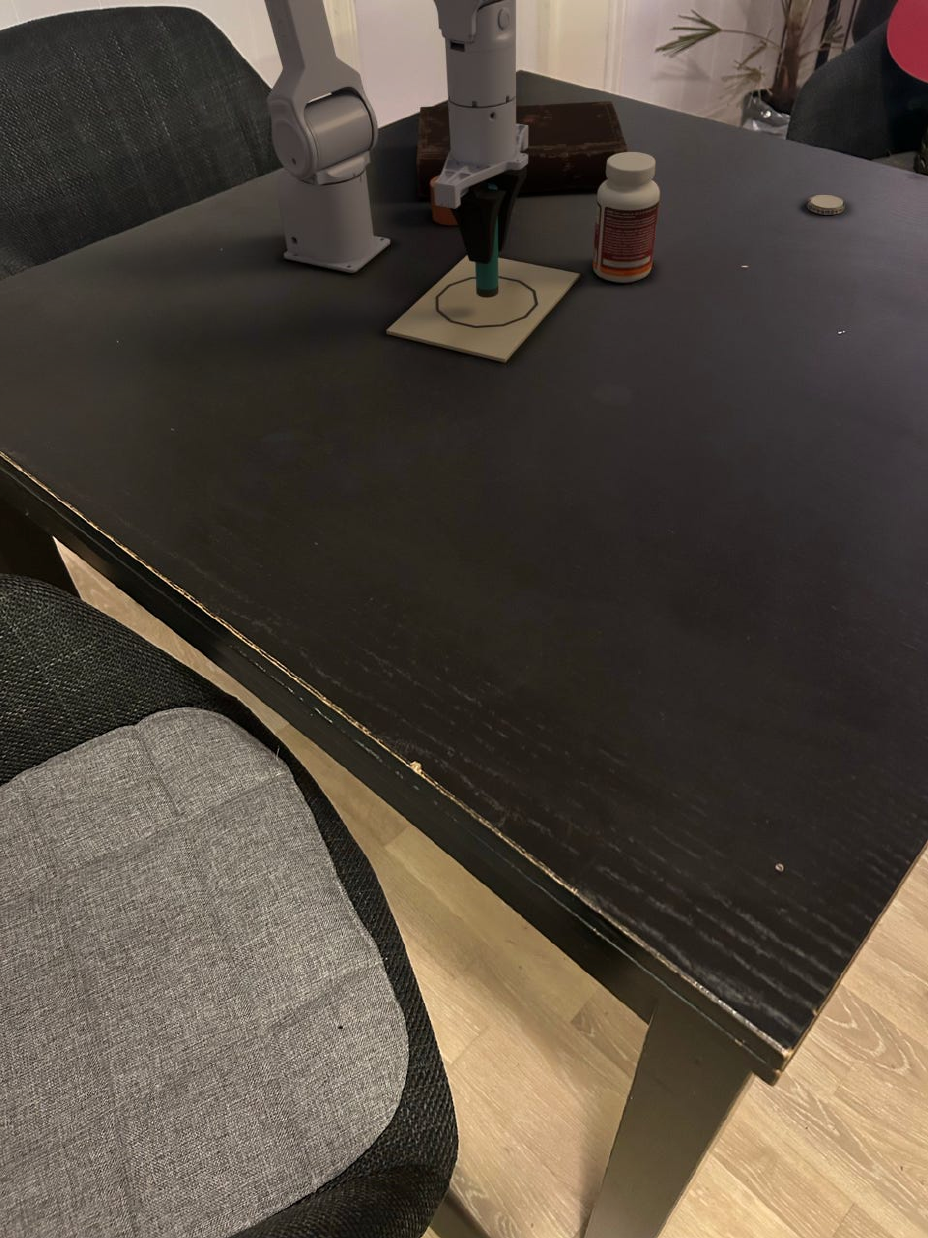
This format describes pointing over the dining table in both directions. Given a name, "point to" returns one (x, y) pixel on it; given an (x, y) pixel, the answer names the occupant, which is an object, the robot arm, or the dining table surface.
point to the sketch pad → (484, 309)
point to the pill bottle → (626, 218)
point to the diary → (537, 144)
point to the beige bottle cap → (826, 204)
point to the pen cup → (440, 209)
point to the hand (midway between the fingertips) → (486, 254)
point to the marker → (488, 269)
